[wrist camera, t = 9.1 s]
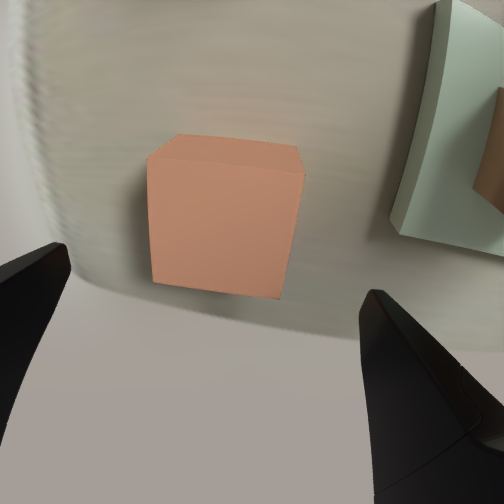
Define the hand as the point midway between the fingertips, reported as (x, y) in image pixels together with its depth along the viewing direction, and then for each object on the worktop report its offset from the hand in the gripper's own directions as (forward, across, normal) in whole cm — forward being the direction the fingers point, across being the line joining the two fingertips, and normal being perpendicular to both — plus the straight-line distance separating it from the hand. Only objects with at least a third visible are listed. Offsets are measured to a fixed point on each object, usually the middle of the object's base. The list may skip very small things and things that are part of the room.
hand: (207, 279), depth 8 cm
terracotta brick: (+7, 0, 0) cm, 7 cm away
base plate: (+6, -13, -5) cm, 15 cm away
